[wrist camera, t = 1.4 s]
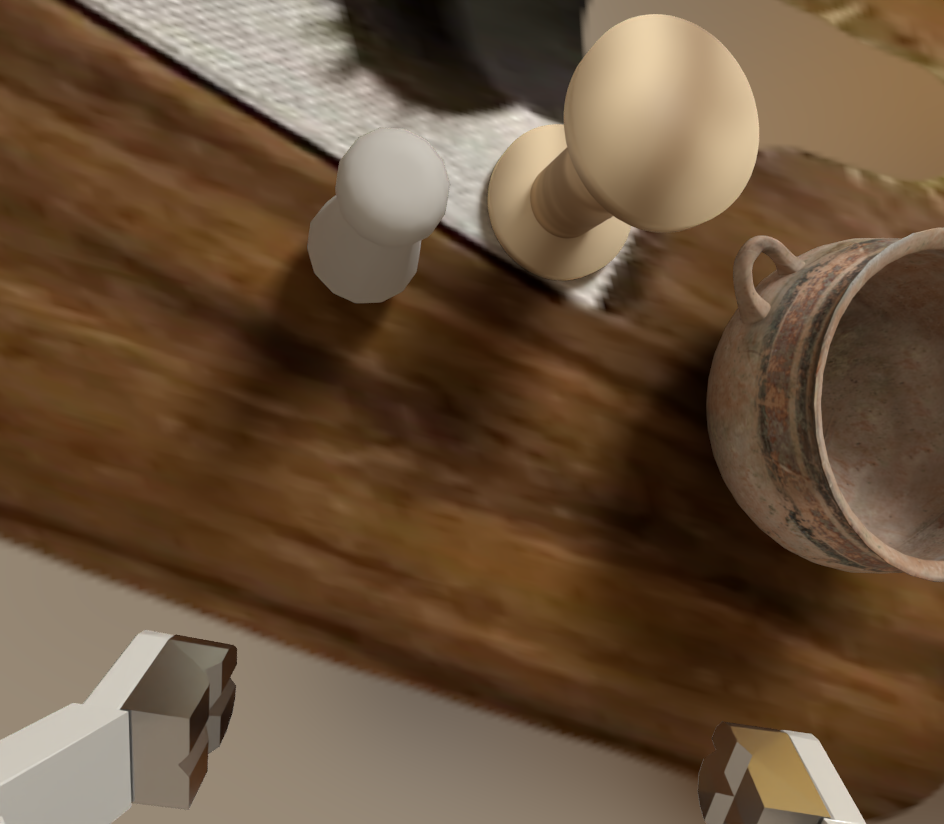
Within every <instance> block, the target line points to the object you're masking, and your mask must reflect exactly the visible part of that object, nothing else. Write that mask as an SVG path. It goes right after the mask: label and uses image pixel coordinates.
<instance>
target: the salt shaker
mask: <svg viewBox="0 0 944 824" xmlns="http://www.w3.org/2000/svg"><path fill="white" fill-rule="evenodd" d="M449 188H450V182H449V178H448V175H447V172H446V168H445V165H444V162H443V159H442V158H441V157H440V156H439V154H438V153H437V152H436V151H435V149H434V148H433V147H432V146H431V144H430V143H429V142H428V141H427V140H426V139H424V138H422V137H420V136H418V135H416V134H414V133H412V132H410V131H408V130H406V129H399V128H382V127H380V128H378V129H375V130H373V131H371V132H369V133H367V134H365V135H363V136H361V137H358V139H357V140H356V141H355V142H354V143H353V145H352V146H351V147H350V149H349V150H348V151H347V153H346V154H345V155H344V156H343V158H342V159H341V160H340V162H339V168H338V174H337V181H336V195H335V196H334V197H333V198H332V199H330V200H329V201H328V202H327V203H326V204H325V205H324V206H323V208H322V209H321V210H320V211H319V213H318V214H317V215H316V216H315V218H314V219H313V220H312V222H311V223H310V231H309V238H308V245H307V249H308V253H309V256H310V260H311V263H312V267H313V270H314V273H315V274H316V275H317V277H318V278H319V279H320V280H321V281H322V282H323V283H324V284H325V285H326V286H327V287H328V288H329V289H330V290H331V292H332V293H334V294H336V295H338V296H340V297H343V298H345V299H347V300H349V301H351V302H353V303H379V302H383V301H385V300H387V299H389V298H391V297H393V296H395V295H397V294H399V293H400V292H402V291H403V290H404V289H405V287H406V286H407V285H408V283H409V282H410V280H411V279H412V277H413V276H414V275H415V273H416V272H417V265H418V259H419V253H420V246H421V240H422V239H424V238H427V237H428V236H429V235H430V234H431V233H432V232H433V230H434V229H435V228H436V226H437V225H438V223H439V222H440V220H441V219H442V217H443V216H444V215H445V211H446V206H447V200H448V194H449Z"/></svg>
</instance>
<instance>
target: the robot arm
mask: <svg viewBox="0 0 944 824" xmlns="http://www.w3.org/2000/svg"><path fill="white" fill-rule="evenodd" d="M236 665H237V648H236V647H235V646H234V645H230V644H224V643H219V642H214V641H208V640H203V639H197V638H192V637H186V636H180V635H170V634H165V633H160V632H155V631H150V630H144V631H142V632H141V633H139V634H137V635H136V636H135V637H134V639H133V640H132V642H131V643H130V644H129V645H128V646H127V648H126V649H125V650H124V652H123V653H122V654H121V655H120V657H119V658H118V659H117V660H116V662H115V663H114V665H113V666H112V667H111V668H110V670H109V671H108V672H107V673H106V675H105V676H104V677H103V678H102V680H101V681H100V682H99V684H98V685H97V686H96V687H95V689H94V690H93V691H92V692H91V694H90V695H89V696H88V698H87V699H86V700H85V701H84V703H83V704H77V703H72V704H70V705H68V706H66V707H64V708H62V709H60V710H59V711H56V712H54V713H53V714H51V715H48V716H46V717H44V718H43V719H41V720H39V721H37V722H35V723H33V724H31V725H29V726H27V727H25V728H23V729H21V730H19V731H17V732H15V733H13V734H11V735H9V736H8V737H6V738H4V739H2V740H0V824H111V823H112V822H113V821H114V820H115V819H117V818H118V817H119V816H120V815H122V814H123V813H124V812H126V811H127V810H128V809H129V808H131V803H135V804H143V805H152V806H160V807H169V808H178V809H185V810H189V808H190V806H191V804H192V802H193V800H194V798H195V796H196V794H197V792H198V790H199V788H200V786H201V784H202V782H203V779H204V777H205V775H206V773H207V771H208V754H209V753H211V752H212V751H214V750H215V749H216V748H218V747H219V746H220V744H221V742H222V740H223V738H224V735H225V733H226V731H227V728H228V725H229V722H230V719H231V716H232V712H233V707H234V701H235V692H236V685H235V684H234V682H233V681H232V680H231V678H230V677H231V674H232V673H233V671H234V669H235V666H236ZM712 740H713V743H714V746H715V749H716V750H715V751H714V752H712V753H711V754H709V755H708V756H706V757H705V758H704V759H703V762H702V765H701V768H700V771H699V777H698V796H699V803H700V808H701V811H702V814H703V818H704V821H705V822H706V823H707V824H866V823H865V821H864V819H863V817H862V816H861V814H860V812H859V810H858V808H857V807H856V805H855V803H854V801H853V800H852V798H851V796H850V794H849V793H848V791H847V789H846V787H845V786H844V784H843V782H842V780H841V779H840V777H839V775H838V773H837V772H836V770H835V768H834V766H833V765H832V763H831V761H830V759H829V758H828V756H827V754H826V752H825V751H824V749H823V747H822V745H821V743H820V742H819V740H818V739H817V738H816V737H814V736H813V735H812V734H808V733H801V732H793V731H786V730H777V729H771V728H764V727H757V726H750V725H743V724H737V723H730V722H723V721H722V722H721V723H720V724H719V725H718V726H717V727H716V729H715V732H714V734H713V736H712Z"/></svg>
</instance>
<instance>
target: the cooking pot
mask: <svg viewBox="0 0 944 824" xmlns="http://www.w3.org/2000/svg"><path fill="white" fill-rule="evenodd" d="M761 252H763V253H765V254H766V255H768V256H769V257H770V258H771V259H772V260H773V261H774V263H775V265H776V267H777V270H775V271H774V272H773V273H772V274H770V275H769V276H768V277H766V278H765V279H764V280H763V281H762V282H761V283H760V284H759V285H758V286H757V287H756V288H754V285H753V279H752V266H753V263H754V261H755V259H756V258H757V256H758V255H759V254H760V253H761ZM733 281H734V289H735V294H736V299H737V304H738V309H737V310H736V312H735V314H734V315H733V317H732V318H731V320H730V322H729V323H728V325H727V326H726V328H725V330H724V332H723V334H722V337H721V339H720V342H719V344H718V346H717V349H716V351H715V354H714V357H713V361H712V365H711V370H710V374H709V378H708V388H707V400H706V411H707V426H708V433H709V438H710V442H711V447H712V451H713V456H714V458H715V461H716V463H717V466H718V468H719V471H720V473H721V476H722V478H723V480H724V482H725V484H726V485H727V487H728V489H729V490H730V492H731V494H732V495H733V497H734V499H735V500H736V502H737V503H738V505H739V506H740V507H741V508H742V509H743V510H744V512H745V513H746V514H747V515H748V516H749V517H750V519H751V520H752V521H753V522H754V523H755V524H756V525H757V526H758V527H759V528H760V529H761V530H762V531H763V532H764V533H766V534H767V535H768V536H770V537H771V538H772V539H773V540H775V541H776V542H777V543H778V544H780V545H781V546H782V547H784V548H785V549H787V550H789V551H791V552H793V553H795V554H797V555H799V556H801V557H803V558H805V559H807V560H809V561H811V562H813V563H816V564H819V565H823V566H827V567H831V568H835V569H839V570H842V571H846V572H855V573H900V572H905V573H907V574H909V575H911V576H914V577H918V578H922V579H926V580H929V581H933V582H944V228H934V229H930V230H925V231H921V232H917V233H913V234H911V235H909V236H907V237H905V238H903V239H900V238H856V239H849V240H845V241H840V242H836V243H832V244H828V245H824V246H820V247H817V248H815V249H812V250H810V251H808V252H806V253H804V254H802V255H800V256H798V257H796V256H795V255H793V254H792V253H791V252H790V251H789V250H788V249H787V248H786V247H785V246H784V245H783V244H782V243H781V242H779V241H778V240H776V239H774V238H772V237H769V236H756V237H753V238H751V239H749V240H748V241H747V242H746V243H745V244H744V245H743V246H742V248H741V249H740V251H739V252H738V254H737V256H736V259H735V262H734V268H733Z"/></svg>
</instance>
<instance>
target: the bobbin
mask: <svg viewBox="0 0 944 824" xmlns="http://www.w3.org/2000/svg"><path fill="white" fill-rule="evenodd" d="M758 144H759V122H758V113H757V108H756V104H755V99H754V97H753V93H752V90H751V88H750V85H749V83H748V81H747V79H746V76H745V74H744V73H743V71H742V69H741V67H740V66H739V64H738V62H737V61H736V60H735V58H734V57H733V56H732V54H731V53H730V52H729V51H728V50H727V49H726V48H725V46H724V45H723V44H722V43H721V42H720V41H719V40H717V39H716V38H715V37H714V36H713V35H711V34H710V33H709V32H707V31H706V30H704V29H703V28H701V27H700V26H698V25H696V24H694V23H691V22H689V21H687V20H684V19H681V18H678V17H674V16H669V15H660V14H650V15H642V16H638V17H634V18H630V19H627V20H625V21H623V22H621V23H619V24H617V25H615V26H614V27H613V28H611V29H610V30H608V31H607V32H606V33H605V34H604V35H603V36H602V37H600V38H599V39H598V40H597V42H596V43H595V44H594V45H593V46H592V48H591V49H590V50H589V51H588V52H587V54H586V55H585V56H584V58H583V59H582V60H581V62H580V63H579V65H578V66H577V68H576V70H575V72H574V74H573V76H572V78H571V81H570V84H569V86H568V90H567V94H566V98H565V106H564V125H560V124H557V125H546V126H541V127H538V128H535V129H532V130H530V131H528V132H526V133H524V134H523V135H522V136H520V137H519V138H517V139H516V140H515V141H514V142H513V143H512V144H511V145H510V146H509V147H508V149H507V150H506V151H505V152H504V154H503V155H502V156H501V158H500V159H499V160H498V162H497V164H496V166H495V168H494V170H493V173H492V175H491V178H490V182H489V187H488V212H489V218H490V221H491V225H492V228H493V230H494V233H495V235H496V237H497V239H498V241H499V243H500V245H501V246H502V247H503V249H504V250H505V252H506V253H507V254H508V255H509V256H510V257H511V258H512V259H513V260H514V261H515V262H516V263H517V264H518V265H520V266H521V267H522V268H524V269H525V270H527V271H528V272H530V273H532V274H535V275H537V276H539V277H542V278H545V279H551V280H560V281H566V280H574V279H578V278H582V277H584V276H587V275H589V274H591V273H593V272H596V271H598V270H599V269H601V268H603V267H604V266H606V265H607V264H608V263H609V262H611V261H612V260H613V259H614V257H615V256H616V255H617V254H618V253H619V251H620V250H621V249H622V247H623V245H624V243H625V242H626V240H627V237H628V235H629V232H630V229H631V226H633V227H636V228H638V229H641V230H646V231H650V232H659V233H670V232H678V231H682V230H687V229H689V228H692V227H694V226H697V225H699V224H701V223H703V222H706V221H708V220H710V219H712V218H714V217H715V216H717V215H719V214H720V213H722V212H723V211H724V210H726V209H727V208H728V207H729V206H731V204H732V203H733V202H734V201H735V200H736V199H737V198H738V197H739V195H740V194H741V192H742V191H743V189H744V188H745V186H746V184H747V182H748V180H749V178H750V176H751V174H752V171H753V168H754V165H755V162H756V157H757V153H758Z"/></svg>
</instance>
